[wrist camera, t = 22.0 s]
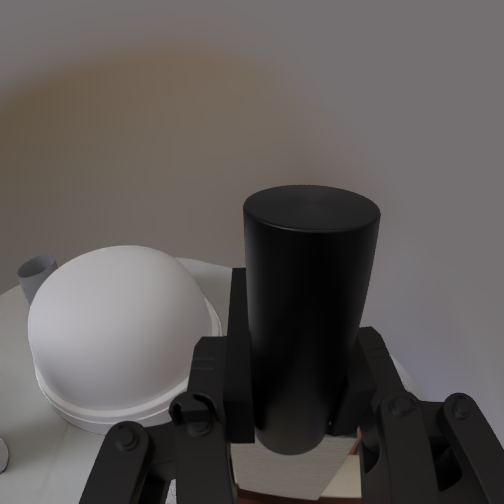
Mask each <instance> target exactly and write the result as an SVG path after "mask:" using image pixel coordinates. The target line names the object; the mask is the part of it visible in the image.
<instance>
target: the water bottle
mask: <svg viewBox="0 0 504 504" xmlns="http://www.w3.org/2000/svg"><path fill="white" fill-rule="evenodd" d="M8 457H9V454H8V449H7V446H6V444H5V442H4V441H3V440H2V439H1V438H0V473H1V471H2V470H4V469H5V467H6V465H7V460H8Z"/></svg>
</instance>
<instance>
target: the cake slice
mask: <svg viewBox="0 0 504 504" xmlns="http://www.w3.org/2000/svg"><path fill="white" fill-rule="evenodd" d="M233 469H234V466H233ZM234 476H235V483H236V490H237V497H239V498H244V499H249V500H254V501H259V502H264V503H270V504H361V503H362V502H361V478H360V461H359V455H348V456H347V457H346V459H345V460H344V462H343V464H342V465H341V467H340V468H339V470H338V471H337V473H336V474H335V476H334V477H333V479H332V480H331V482H330V483H329V484H328V486H327V487H326V489H325V490H324V491H323V493H322V494H321V496H320V497H319V498H318V500H308V499H298V498H290V497H283V496H276V495H270V494H264V493H259V492H254V491H249V490H244V489H240V488H239V485H238V481H237V478H236V474H235V470H234Z"/></svg>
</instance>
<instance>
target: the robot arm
mask: <svg viewBox="0 0 504 504" xmlns="http://www.w3.org/2000/svg"><path fill="white" fill-rule="evenodd" d="M168 412H169V415H170V417H171V419H172V420H171V421H170V422H167V423H164V424H160V425H154V426H149V427H143V426H142V425H141V424H139V423H137V422H135V421H122V422H118V423H116V424H115V425H113V426H112V427H111V428H110V429H109V431H108V432H107V434H106V436H105V439H104V441H103V443H102V446H101V448H100V451H99V453H98V455H97V458H96V460H95V463H94V465H93V468H92V470H91V473H90V475H89V478H88V480H87V483H86V486H85V488H84V491H83V493H82V496H81V499H80V501H79V504H165V502H166V498H167V494H168V490H169V486H170V483H171V480H173V479H176V499H177V504H238V497H237V490H236V483H235V476H234V469H233V462H232V456H231V443H232V444H254V443H255V421H254V403H253V384H252V375H251V360H250V341H249V321H248V301H247V280H246V268H233V269H232V281H231V293H230V305H229V318H228V331H227V336H202V337H201V338H200V340H199V341H198V342H197V344H196V345H195V346H194V351H193V357H192V363H191V370H190V374H189V380H188V386H187V391H186V392H183V393H181V394H179V395H178V396H176V397H175V398H174V399H173V400H172V402H171V403H170V406H169V409H168ZM330 422H331V427H332V432H333V437H336V436H343V435H349V434H355V432H356V431H357V429H358V427H359V428H360V432H361V436H362V437H361V438H360V440H359V442H358V443H357V445H356V447H355V448H354V452H353V455H356V454H357V452H358V451H359V461H360V478H361V502H362V504H504V449H503V448H502V446H501V444H500V442H499V440H498V439H497V437H496V435H495V434H494V432H493V430H492V428H491V427H490V425H489V423H488V422H487V420H486V418H485V417H484V415H483V414H482V412H481V411H480V409H479V407H478V406H477V404H476V402H475V401H474V400H473V399H472V398H471V397H470V396H468V395H466V394H464V393H454V394H451V395H450V396H449V397H447V399H446V400H445V401H444V402H428V401H421V400H418V399H417V397H416V396H414V395H413V394H412V393H410V392H408V391H406V390H405V388H404V386H403V384H402V382H401V379H400V377H399V375H398V372H397V370H396V368H395V365H394V363H393V361H392V359H391V356H389V352H388V350H387V348H386V345H385V343H384V341H383V339H382V337H381V335H380V334H379V333H378V332H377V331H376V330H375V329H374V328H373V327H361V328H359V329H358V333H357V337H356V341H355V345H354V348H353V352H352V355H351V359H350V362H349V366H348V369H347V373H346V376H345V379H344V382H343V385H342V389H341V392H340V395H339V398H338V401H337V404H336V407H335V410H334V412H333V415H332V418H331V421H330Z"/></svg>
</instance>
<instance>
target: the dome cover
mask: <svg viewBox="0 0 504 504" xmlns="http://www.w3.org/2000/svg"><path fill="white" fill-rule="evenodd" d="M202 336H223V333H222V328H221V324H220V320H219V318H218V315H217V313H216V311H215V310H214V308H213V307H212V305H211V304H210V302H209V301H208V300H207V299H206V298H205V297H204V296H203V294H202V292H201V290H200V288H199V286H198V284H197V283H196V281H195V279H194V278H193V276H192V275H191V274H190V273H189V271H188V270H187V269H186V268H185V267H184V266H183V265H182V264H181V263H180V262H179V261H177V260H176V259H174V258H173V257H171V256H170V255H167V254H166V253H163V252H161V251H159V250H156V249H153V248H148V247H143V246H134V245H133V246H132V245H130V246H129V245H127V246H112V247H107V248H102V249H98V250H94V251H91V252H88V253H85V254H83V255H81V256H78V257H76V258H74V259H73V260H70V261H69V262H67V263H65V264H64V265H63V266H61V267H60V268H58V269H57V270H56V271H54V272H53V273H52V274H51V275H50V276H49V277H48V278H47V279H46V280H45V282H44V283H43V284H42V285H41V287H40V288H39V289H38V291H37V293H36V295H35V297H34V299H33V301H32V304H31V307H30V311H29V316H28V338H29V343H30V348H31V352H32V354H33V357H34V369H35V373H36V378H37V381H38V384H39V386H40V388H41V390H42V392H43V394H44V395H45V397H46V398H47V400H48V401H49V403H50V404H51V405H52V407H53V408H54V409H55V410H56V412H57V413H58V414H59V415H60V416H61V417H63V418H64V419H65V420H67V421H68V422H70V423H71V424H73V425H74V426H76V427H79V428H81V429H83V430H86V431H89V432H92V433H97V434H102V435H106V434H107V432H108V431H109V429H110V428H111V427H112V426H113V425H115V424H116V423H118V422H122V421H135V422H137V423H139V424H141V425H142V426H143V427H149V426H154V425H160V424H164V423H167V422H170V421H171V420H172V419H171V417H170V415H169V412H168V409H169V406H170V403H171V402H172V400H173V399H174V398H175V397H176V396H178V395H179V394H181V393H183V392H186V391H187V386H188V380H189V374H190V370H191V363H192V357H193V351H194V346H195V345H196V344H197V342H198V341H199V340H200V338H201V337H202Z"/></svg>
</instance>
